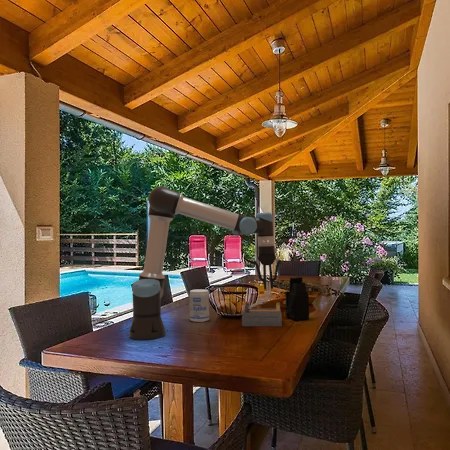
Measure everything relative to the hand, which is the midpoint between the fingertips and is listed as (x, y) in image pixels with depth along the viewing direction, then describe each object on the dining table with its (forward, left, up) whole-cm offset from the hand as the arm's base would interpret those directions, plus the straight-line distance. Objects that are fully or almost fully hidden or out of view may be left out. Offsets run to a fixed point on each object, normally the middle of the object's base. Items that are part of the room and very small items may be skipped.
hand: (269, 295), depth 198 cm
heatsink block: (-3, 0, -13) cm, 13 cm away
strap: (-4, 0, -3) cm, 5 cm away
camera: (+13, +12, -13) cm, 22 cm away
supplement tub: (-34, +6, -13) cm, 37 cm away
